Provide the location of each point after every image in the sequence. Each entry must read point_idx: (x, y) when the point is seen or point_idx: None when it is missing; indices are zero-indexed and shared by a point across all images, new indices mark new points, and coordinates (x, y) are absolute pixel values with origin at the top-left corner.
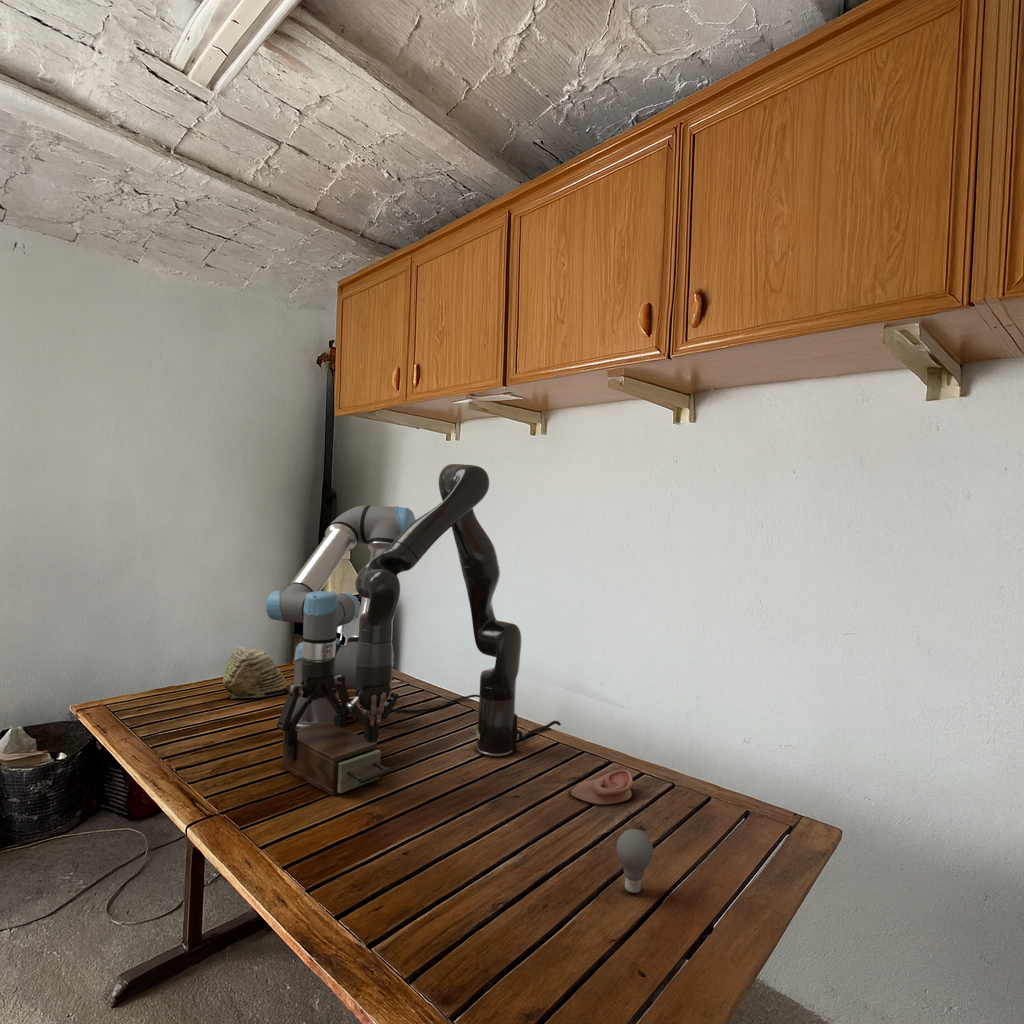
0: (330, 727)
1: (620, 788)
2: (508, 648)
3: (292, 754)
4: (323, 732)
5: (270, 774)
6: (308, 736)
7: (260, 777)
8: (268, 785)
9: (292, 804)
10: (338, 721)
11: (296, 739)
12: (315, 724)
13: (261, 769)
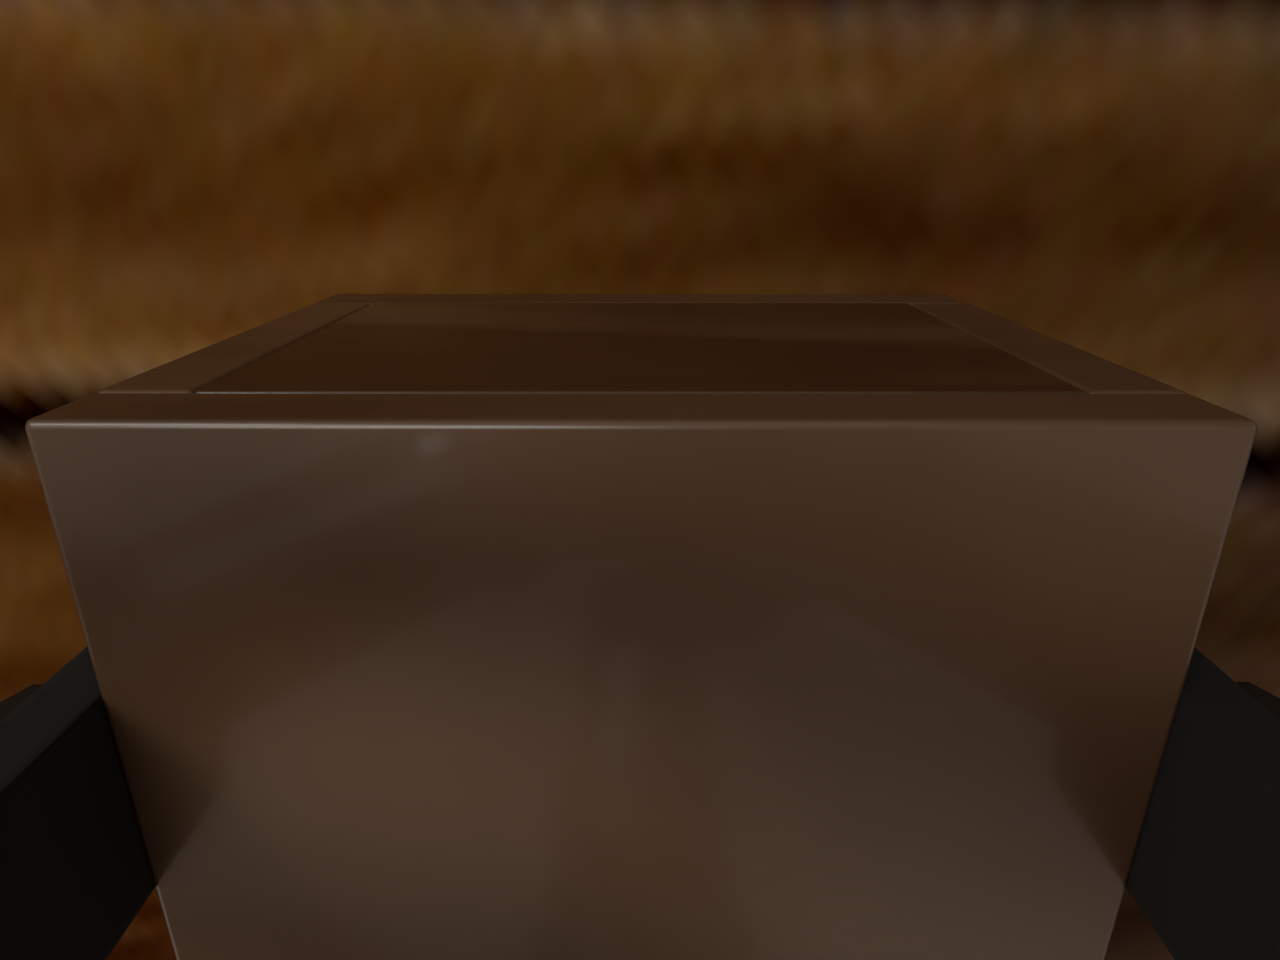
0: (980, 810)
1: None
2: None
3: None
4: (711, 913)
5: (157, 363)
6: (386, 906)
7: (35, 356)
8: (59, 577)
9: (130, 953)
10: (1205, 920)
11: (135, 893)
12: (895, 471)
13: (106, 152)
